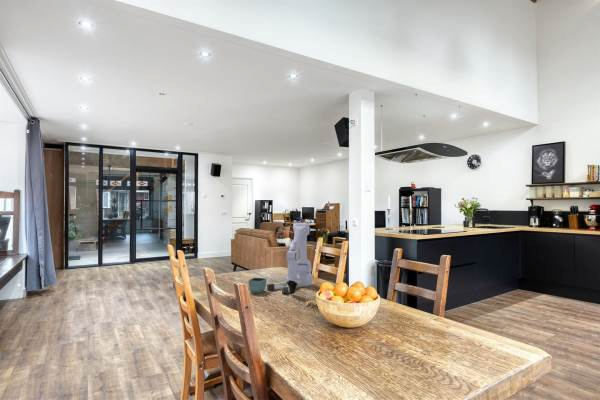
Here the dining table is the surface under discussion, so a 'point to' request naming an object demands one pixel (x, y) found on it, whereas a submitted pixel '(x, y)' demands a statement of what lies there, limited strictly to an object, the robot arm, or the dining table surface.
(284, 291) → the bar
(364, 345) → the dining table surface
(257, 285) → the flower pot
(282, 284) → the tongs fixed
